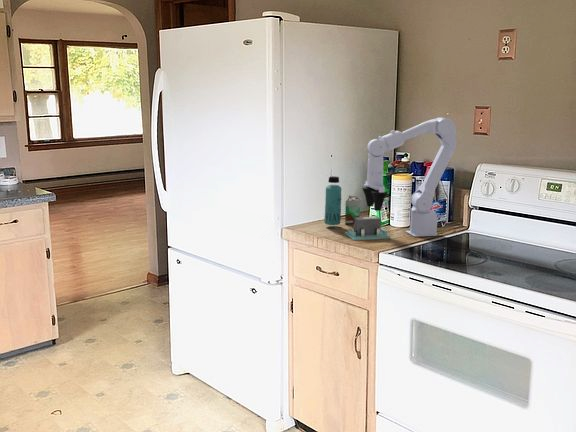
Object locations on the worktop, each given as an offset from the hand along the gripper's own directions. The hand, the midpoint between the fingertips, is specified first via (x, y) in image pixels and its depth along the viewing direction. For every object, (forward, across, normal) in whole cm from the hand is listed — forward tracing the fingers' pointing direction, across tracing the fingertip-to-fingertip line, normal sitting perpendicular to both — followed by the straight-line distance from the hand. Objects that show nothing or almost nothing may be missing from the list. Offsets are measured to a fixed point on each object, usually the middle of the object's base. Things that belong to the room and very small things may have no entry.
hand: (373, 208), depth 229 cm
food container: (+10, -19, -1) cm, 22 cm away
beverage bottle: (+10, -13, -12) cm, 20 cm away
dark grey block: (+9, +3, -4) cm, 10 cm away
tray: (+10, +3, -3) cm, 11 cm away
